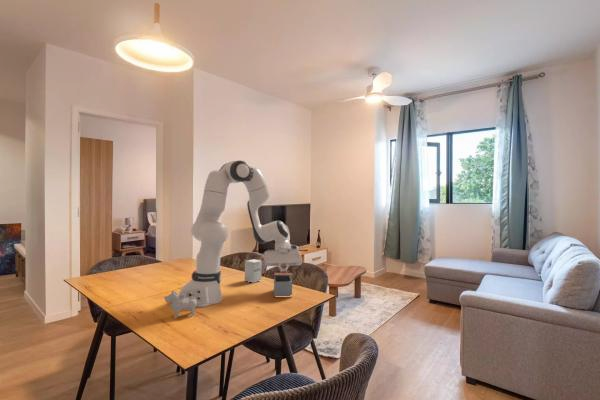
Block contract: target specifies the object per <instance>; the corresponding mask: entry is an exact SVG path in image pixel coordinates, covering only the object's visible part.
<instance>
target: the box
mask: <svg viewBox="0 0 600 400" xmlns="http://www.w3.org/2000/svg"><path fill="white" fill-rule="evenodd" d="M273 277H274V278H273V297H274V296H290V295H292V296H293V279H292V275H274V274H273Z"/></svg>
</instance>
